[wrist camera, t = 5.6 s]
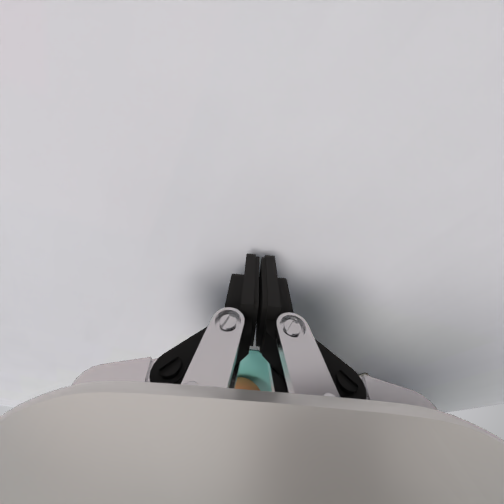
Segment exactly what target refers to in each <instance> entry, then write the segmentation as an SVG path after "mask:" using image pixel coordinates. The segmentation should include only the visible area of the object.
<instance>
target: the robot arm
mask: <svg viewBox="0 0 504 504" xmlns="http://www.w3.org/2000/svg"><path fill="white" fill-rule="evenodd" d="M255 328H256V346H260V353H262V356H263V357H264V358H265V359H266V360H267V367H268V372H269V378H270V384H271V390H272V392H271V391H258V390H246V389H235V385H236V381H237V377H238V373H239V368H240V364H241V360H243V359H244V358H245V357H246V356H247V355H248V354H249V347H250V346H253V342H254V335H255ZM0 504H504V440H502V439H500V438H499V437H497V436H496V435H494V434H492V433H490V432H488V431H487V430H485V429H483V428H481V427H479V426H476V425H474V424H472V423H470V422H468V421H466V420H463V419H461V418H458V417H456V416H454V415H451V414H448V413H445V412H442V411H438V410H437V408H436V407H435V406H434V405H433V404H432V403H431V402H430V400H428V399H427V398H426V397H424V396H423V395H422V394H420V393H418V392H416V391H414V390H411V389H408V388H405V387H401V386H398V385H395V384H392V383H389V382H386V381H383V380H379V379H376V378H373V377H370V376H367V375H363V377H362V376H359V375H358V374H357V373H356V372H355V371H354V370H353V369H352V368H350V367H349V366H348V365H347V364H345V363H344V362H343V361H342V360H340V359H339V358H338V357H337V356H335V355H334V354H333V353H332V352H330V351H329V350H328V349H327V348H325V347H324V346H323V345H322V344H320V343H319V342H318V341H317V340H316V339H314V336H313V334H312V332H311V329H310V327H309V325H308V323H307V322H306V320H305V319H304V318H303V317H301V316H300V315H298V314H295V313H293V309H292V304H291V299H290V294H289V289H288V284H287V280H286V278H277V271H276V263H275V256H268V255H265V258H264V257H262V259H261V266H260V274H259V257H256V254H247V257H246V265H245V273H244V275H241V274H232V276H231V280H230V285H229V290H228V294H227V299H226V303H225V308H222V309H220V310H218V311H217V312H215V313H214V315H213V316H212V318H211V320H210V323H209V325H208V327H206V328H204V329H203V330H201V331H200V332H198V333H196V334H195V335H193V336H192V337H190V338H188V339H187V340H185V341H184V342H182V343H180V344H179V345H177V346H176V347H174V348H172V349H171V350H169V351H168V352H166V353H164V354H163V355H162V356H160V357H159V358H157V359H152V358H151V357H147V358H140V359H134V360H127V361H120V362H113V363H107V364H100V365H97V366H93V367H91V368H89V369H88V370H86V371H84V372H83V373H82V374H81V375H80V376H78V377H77V378H76V380H75V381H74V382H73V384H72V385H71V386H68V387H64V388H60V389H57V390H54V391H51V392H48V393H45V394H42V395H40V396H37V397H35V398H32V399H30V400H28V401H26V402H24V403H21V404H19V405H18V406H16V407H14V408H12V409H11V410H9V411H7V412H6V413H4V414H3V415H2V416H0Z"/></svg>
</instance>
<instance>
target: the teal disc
mask: <svg viewBox="0 0 504 504" xmlns="http://www.w3.org/2000/svg"><path fill="white" fill-rule="evenodd" d="M238 377H244V378H247V379H250V380H251V381H253V382H254V383H255V384H256V385H257V386H258V388H259V389H260V391H271V392H272V390H271V384H270V378H269V372H268V367H267V360H266V359H265V358H264V357H263V356H262V353H260V351H256V350H249V354H248V355H247V356H246V357H245V358H244V359H243V360H241V364H240V368H239V373H238Z"/></svg>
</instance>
